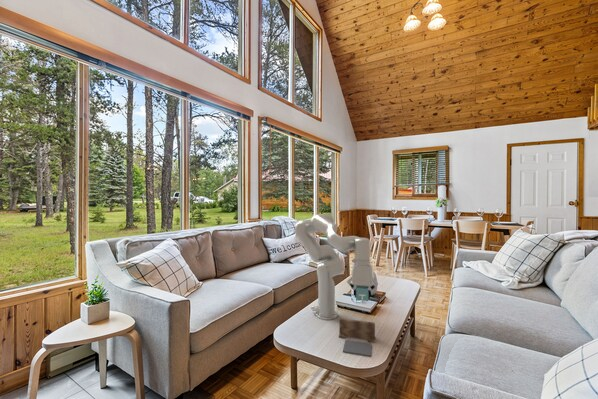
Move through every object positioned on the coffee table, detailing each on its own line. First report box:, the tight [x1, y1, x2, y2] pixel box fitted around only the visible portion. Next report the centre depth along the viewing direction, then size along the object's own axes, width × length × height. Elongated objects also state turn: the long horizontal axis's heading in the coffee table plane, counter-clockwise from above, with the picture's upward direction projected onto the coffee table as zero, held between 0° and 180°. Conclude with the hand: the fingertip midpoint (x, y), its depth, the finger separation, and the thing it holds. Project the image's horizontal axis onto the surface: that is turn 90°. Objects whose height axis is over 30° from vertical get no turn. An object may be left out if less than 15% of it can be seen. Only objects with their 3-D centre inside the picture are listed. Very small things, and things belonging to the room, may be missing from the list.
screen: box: [338, 317, 376, 344], centre depth 137 cm, size 17×6×8 cm, turn 74°
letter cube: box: [355, 285, 370, 302], centre depth 142 cm, size 6×6×6 cm
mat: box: [342, 339, 372, 357], centre depth 127 cm, size 12×10×1 cm
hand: (362, 297), depth 142 cm, fingers closed on letter cube, 6 cm apart
